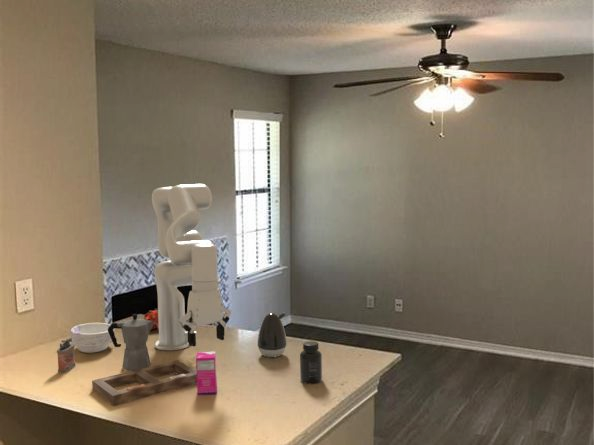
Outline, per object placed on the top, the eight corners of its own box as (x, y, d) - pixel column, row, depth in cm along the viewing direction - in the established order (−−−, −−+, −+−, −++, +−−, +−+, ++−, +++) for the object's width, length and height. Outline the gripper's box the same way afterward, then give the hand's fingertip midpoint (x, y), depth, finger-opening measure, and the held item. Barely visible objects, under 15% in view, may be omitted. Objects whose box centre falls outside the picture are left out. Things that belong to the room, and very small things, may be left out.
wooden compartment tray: (177, 368, 216) (177, 358, 216) (201, 382, 204) (201, 371, 204) (92, 390, 198) (91, 379, 198) (113, 406, 186) (113, 394, 186)
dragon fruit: (169, 328, 267) (146, 340, 258) (156, 314, 270) (133, 325, 261) (175, 315, 263) (152, 326, 254) (162, 301, 266) (138, 311, 257)
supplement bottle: (324, 377, 208) (324, 341, 206) (318, 385, 201) (318, 347, 200) (304, 375, 210) (304, 339, 208) (297, 382, 204) (297, 345, 202)
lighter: (64, 373, 212) (63, 343, 211) (55, 373, 213) (53, 343, 212) (77, 365, 220) (76, 336, 219) (68, 364, 221) (67, 335, 219)
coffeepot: (154, 359, 225) (153, 308, 223) (158, 368, 217) (157, 315, 214) (108, 365, 220) (106, 313, 218) (110, 374, 211) (108, 320, 209)
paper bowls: (122, 349, 236) (121, 328, 235) (81, 358, 227) (80, 336, 226) (104, 339, 248) (103, 319, 247) (64, 348, 238) (63, 327, 237)
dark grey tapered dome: (292, 356, 228) (292, 313, 226) (267, 362, 223) (267, 318, 221) (277, 348, 237) (276, 307, 235) (252, 354, 231) (251, 312, 229)
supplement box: (197, 387, 200) (197, 351, 198) (217, 387, 200) (216, 351, 199) (196, 395, 194) (195, 357, 192) (216, 394, 194) (215, 357, 193)
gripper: (223, 280, 201) (224, 334, 203) (172, 287, 190) (174, 345, 192) (236, 283, 195) (237, 339, 197) (185, 291, 184) (187, 350, 186)
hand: (206, 342), depth 195 cm, fingers open, 9 cm apart
